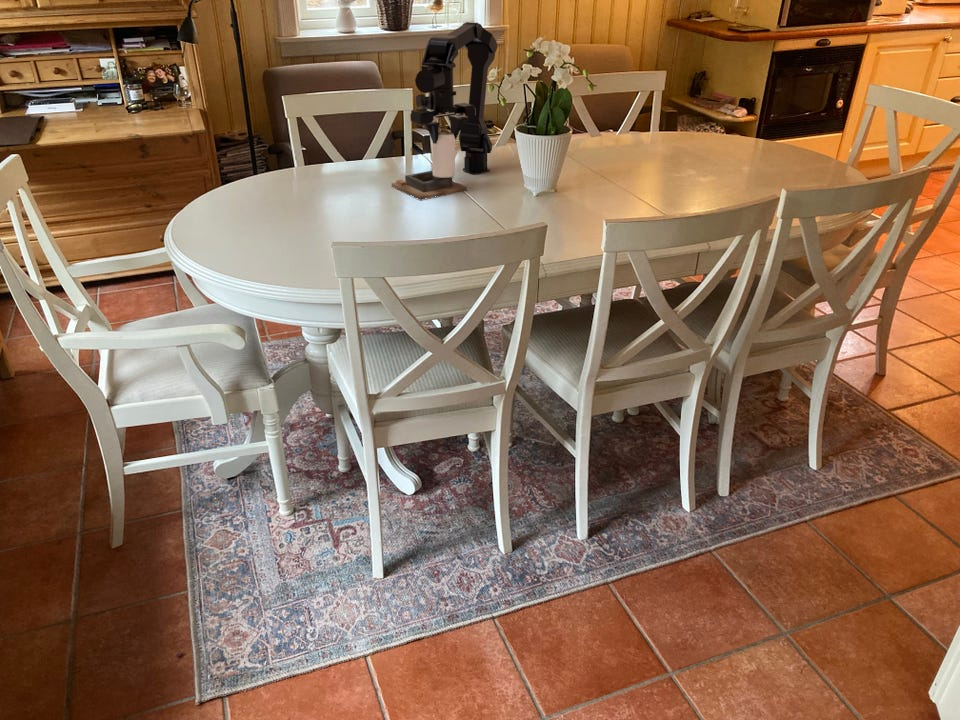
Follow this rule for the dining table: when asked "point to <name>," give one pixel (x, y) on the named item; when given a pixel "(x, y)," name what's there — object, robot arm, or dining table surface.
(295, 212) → the dining table surface
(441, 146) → the can
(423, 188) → the socket block
